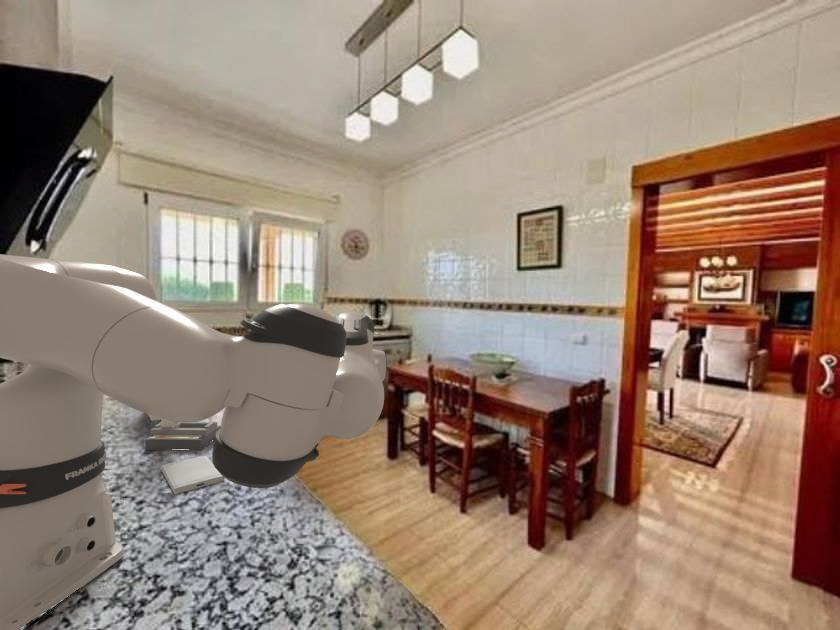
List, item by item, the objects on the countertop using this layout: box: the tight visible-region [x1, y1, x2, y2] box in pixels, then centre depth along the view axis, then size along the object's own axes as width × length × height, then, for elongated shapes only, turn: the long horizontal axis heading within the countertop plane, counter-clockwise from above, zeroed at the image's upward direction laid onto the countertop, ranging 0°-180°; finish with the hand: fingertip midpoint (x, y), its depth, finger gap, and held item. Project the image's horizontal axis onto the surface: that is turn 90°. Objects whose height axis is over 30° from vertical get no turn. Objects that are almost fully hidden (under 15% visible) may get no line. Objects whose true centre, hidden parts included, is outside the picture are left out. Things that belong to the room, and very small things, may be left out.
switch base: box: [144, 421, 221, 451], centre depth 91 cm, size 10×12×4 cm
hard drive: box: [160, 455, 225, 495], centre depth 75 cm, size 2×8×12 cm
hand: (262, 362), depth 93 cm, fingers closed
